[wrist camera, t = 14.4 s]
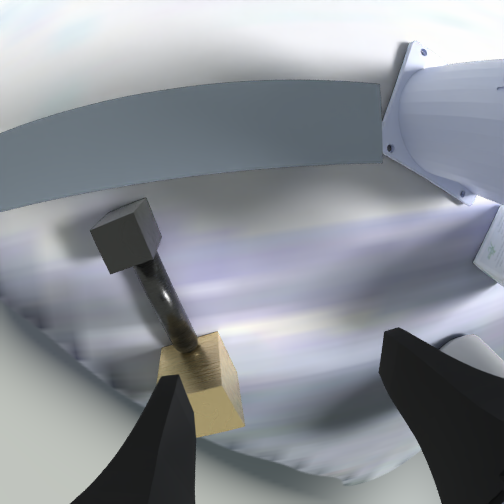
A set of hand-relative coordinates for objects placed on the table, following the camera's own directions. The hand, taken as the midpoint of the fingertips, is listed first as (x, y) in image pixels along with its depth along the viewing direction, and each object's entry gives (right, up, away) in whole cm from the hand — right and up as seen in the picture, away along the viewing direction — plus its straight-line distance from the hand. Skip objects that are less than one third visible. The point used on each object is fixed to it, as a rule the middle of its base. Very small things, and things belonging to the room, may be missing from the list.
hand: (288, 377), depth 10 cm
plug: (-6, +1, +9) cm, 11 cm away
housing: (-6, +10, +5) cm, 13 cm away
